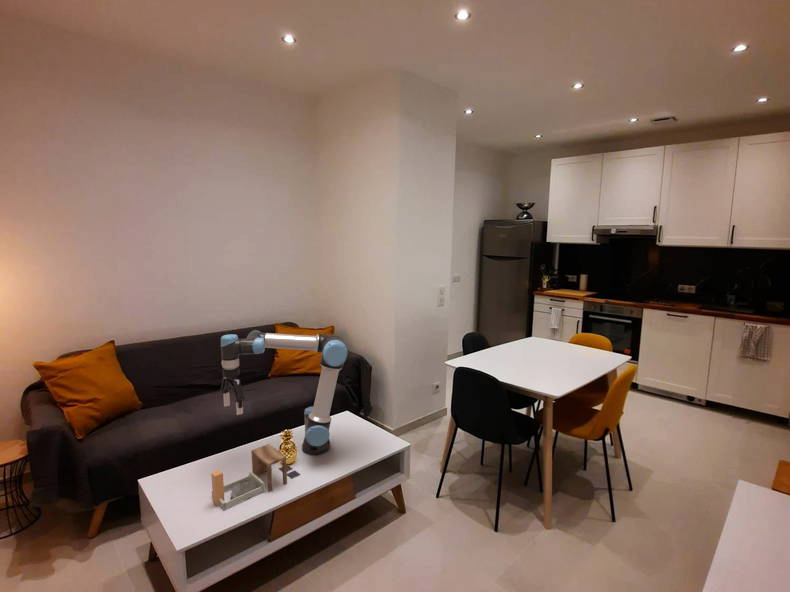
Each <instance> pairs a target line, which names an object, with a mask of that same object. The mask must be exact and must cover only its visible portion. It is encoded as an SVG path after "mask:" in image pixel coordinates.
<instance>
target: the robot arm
mask: <svg viewBox="0 0 790 592" xmlns="http://www.w3.org/2000/svg"><path fill="white" fill-rule="evenodd" d="M266 348H267V349H281V350H282V349H283V350H299V351H300V350H303V351H314V352H315V353H320V354H321V357H320V362H319V366H321V369H320V370H321V371H320V376H319V379H318V380H319V381H318V385H317V389H316V395H315V398H314V403H313V406H308V407H307V408H305V409H304V412H303V413H304V414H303V415H304V437H303V442H302V444H301V449H302V451H301V452H303V453H304V454H306V455H309V456H317V455H323V454H325V453H327V452H328V451H329V450H330V449H331V441H330V428H331V423H332V417H331V416H330V413H331V408H332V403H333V399H334V395H335V392H336V391H335V390H336V387H337V386H336V385H337V380H338V377H339V373H340V371H342V369H343V368H344V364H345V362H346V360H347V358H348V349H347V346H346V344H345V342H344V340H343V339H342V338H341V337H340V336H338V335H335V334H321V333H317V334H316V335H308V334H307V335H305V334H304V335H303V334H290V333H289V334H288V333H287V334H286V333H274V332H273V333H272V332H261V331H260V330H252V331H251V332H249V333H248V335H247V336H246V338H239V337H238V334H234V333H233V334H225V335H222V336H221V337H220V351H221V353H220V354H221V366H222V369H221V370H222V379H221V386H220V391H221V392H222V394H223V407H224V408H225V407H228V406H231V397H230V396H231V395H230V392H231V391H230V390H232V391H233V394H234V396H235V399H236V401H235V406H236V407H235V408H236V409H235V410H236V416H239V415H243V414H244V407H243V405H244V404H243V401H246V398H245V395H244V390H243V387H242V383H241V379H238V376H239V375H240V357H239V356H241V355H259V354H263V353H264V352H265V350H266Z"/></svg>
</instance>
